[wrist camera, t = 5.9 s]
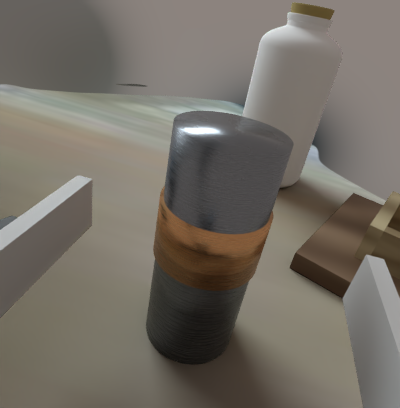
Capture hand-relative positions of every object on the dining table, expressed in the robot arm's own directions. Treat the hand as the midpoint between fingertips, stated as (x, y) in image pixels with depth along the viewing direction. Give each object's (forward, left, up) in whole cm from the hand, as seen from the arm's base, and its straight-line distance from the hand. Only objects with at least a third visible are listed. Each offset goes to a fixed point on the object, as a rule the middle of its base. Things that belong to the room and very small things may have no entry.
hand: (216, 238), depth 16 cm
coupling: (0, +1, -7) cm, 7 cm away
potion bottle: (+24, +9, -7) cm, 27 cm away
